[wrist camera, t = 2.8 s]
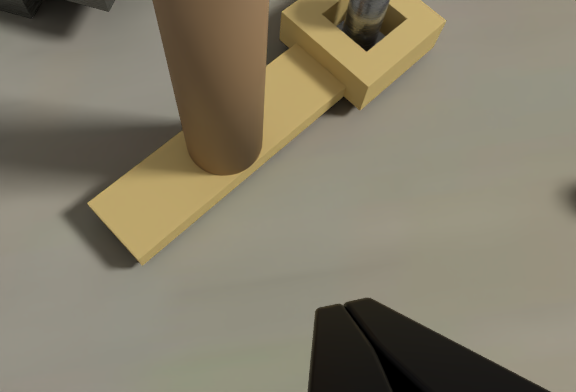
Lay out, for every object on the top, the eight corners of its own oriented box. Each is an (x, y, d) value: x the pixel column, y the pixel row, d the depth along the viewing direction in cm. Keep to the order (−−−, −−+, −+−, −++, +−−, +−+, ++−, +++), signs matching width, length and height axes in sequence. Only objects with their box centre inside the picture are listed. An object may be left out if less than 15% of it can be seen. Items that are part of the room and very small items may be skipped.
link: (353, -16, 26) (428, -328, 15) (432, 48, 25) (575, -239, 14) (76, 193, 21) (-109, -47, 10) (159, 284, 20) (50, 126, 9)
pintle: (345, 106, 24) (365, 39, 20) (289, 37, 25) (297, -40, 21) (420, 63, 25) (455, -10, 21) (363, -2, 26) (385, -82, 22)
